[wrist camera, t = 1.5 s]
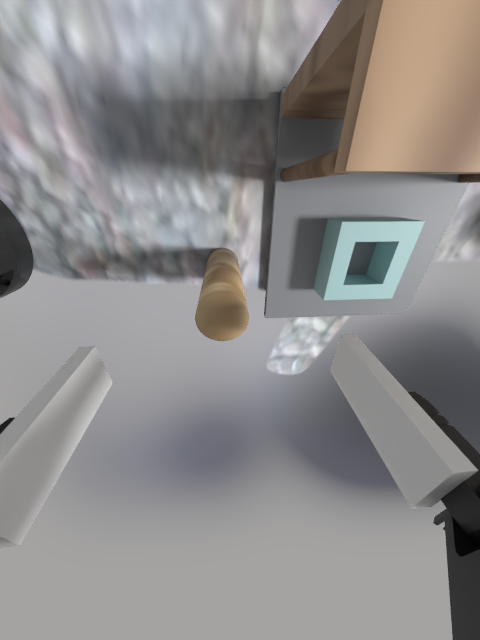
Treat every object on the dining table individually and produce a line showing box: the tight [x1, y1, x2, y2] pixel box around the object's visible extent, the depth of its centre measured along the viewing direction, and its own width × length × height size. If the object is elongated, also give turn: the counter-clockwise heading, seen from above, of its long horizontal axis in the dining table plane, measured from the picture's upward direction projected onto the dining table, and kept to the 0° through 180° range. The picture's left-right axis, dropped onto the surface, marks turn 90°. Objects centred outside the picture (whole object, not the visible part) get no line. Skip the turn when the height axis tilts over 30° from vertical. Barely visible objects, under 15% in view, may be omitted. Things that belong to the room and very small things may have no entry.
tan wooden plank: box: [280, 0, 480, 183], centre depth 15 cm, size 22×6×16 cm, turn 90°
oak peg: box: [195, 248, 249, 341], centre depth 22 cm, size 4×4×14 cm
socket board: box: [264, 87, 469, 318], centre depth 24 cm, size 22×24×4 cm
